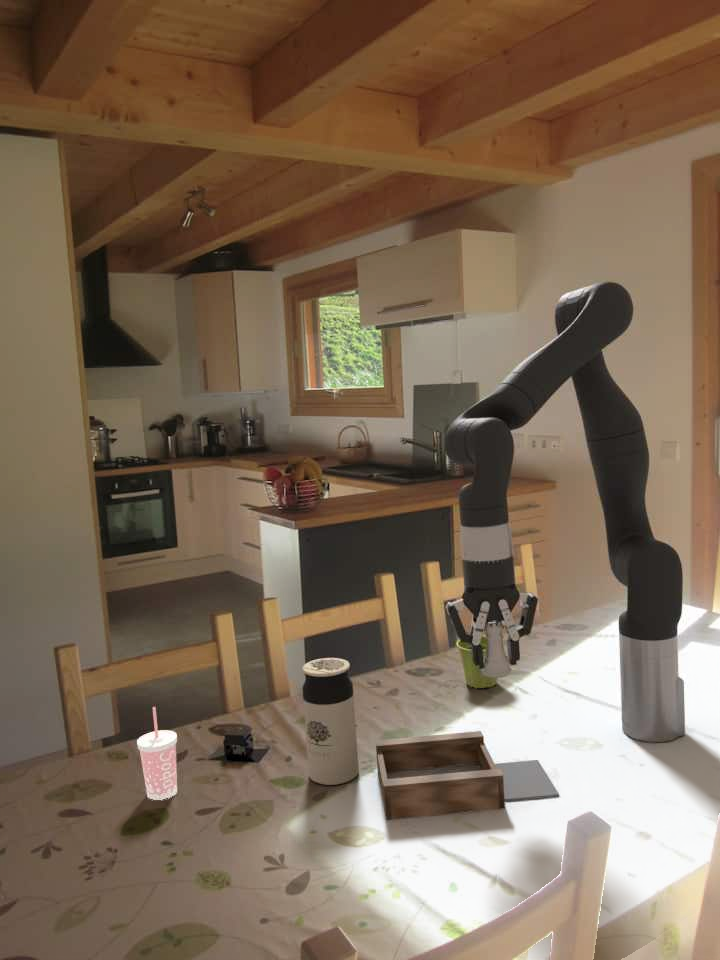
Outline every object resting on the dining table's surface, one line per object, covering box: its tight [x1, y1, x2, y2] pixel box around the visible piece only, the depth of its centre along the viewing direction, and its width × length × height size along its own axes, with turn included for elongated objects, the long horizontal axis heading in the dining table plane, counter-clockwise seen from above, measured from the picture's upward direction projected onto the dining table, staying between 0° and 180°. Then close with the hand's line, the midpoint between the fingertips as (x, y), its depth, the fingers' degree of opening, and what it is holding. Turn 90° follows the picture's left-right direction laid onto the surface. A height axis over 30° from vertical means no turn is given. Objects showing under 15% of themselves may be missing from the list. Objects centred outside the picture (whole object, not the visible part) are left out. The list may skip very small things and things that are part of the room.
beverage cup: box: [136, 706, 178, 801], centre depth 122 cm, size 6×6×14 cm
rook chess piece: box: [482, 620, 513, 679], centre depth 117 cm, size 4×4×8 cm
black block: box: [207, 727, 270, 764], centre depth 134 cm, size 12×7×5 cm, turn 76°
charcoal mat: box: [494, 759, 560, 802], centre depth 119 cm, size 8×11×1 cm
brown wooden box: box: [375, 730, 506, 821], centre depth 118 cm, size 17×15×5 cm
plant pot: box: [456, 635, 498, 689], centre depth 159 cm, size 9×9×9 cm
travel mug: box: [301, 657, 360, 786], centre depth 124 cm, size 8×8×18 cm
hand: (496, 664), depth 117 cm, fingers closed on rook chess piece, 4 cm apart
